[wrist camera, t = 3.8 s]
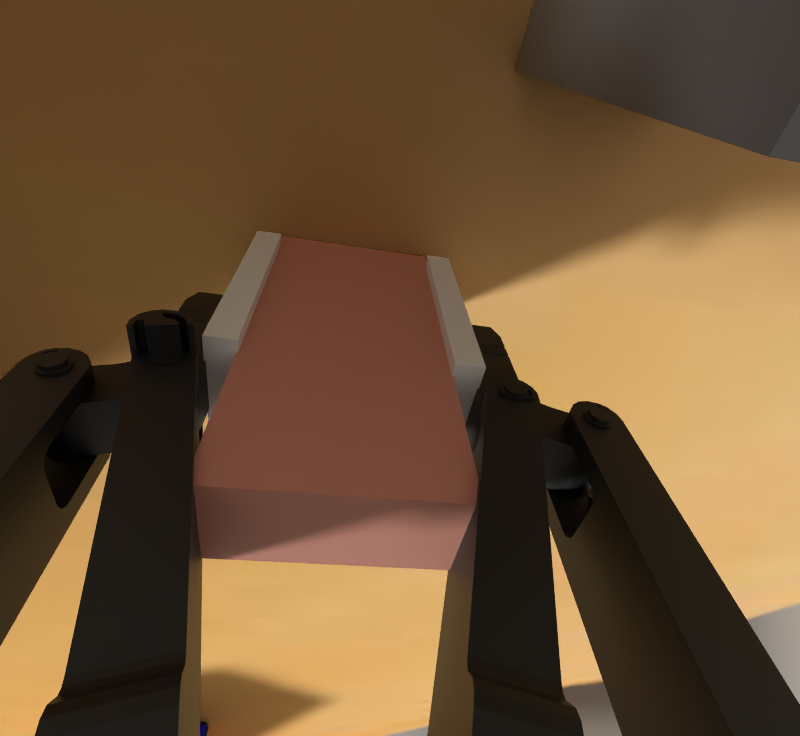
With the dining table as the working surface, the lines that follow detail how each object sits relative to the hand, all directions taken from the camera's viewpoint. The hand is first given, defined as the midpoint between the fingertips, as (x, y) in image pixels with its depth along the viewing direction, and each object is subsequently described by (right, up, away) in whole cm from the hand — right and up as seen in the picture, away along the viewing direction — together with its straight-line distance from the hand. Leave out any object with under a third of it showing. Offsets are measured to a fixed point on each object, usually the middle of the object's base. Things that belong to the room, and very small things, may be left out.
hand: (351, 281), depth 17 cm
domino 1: (0, 0, +1) cm, 1 cm away
